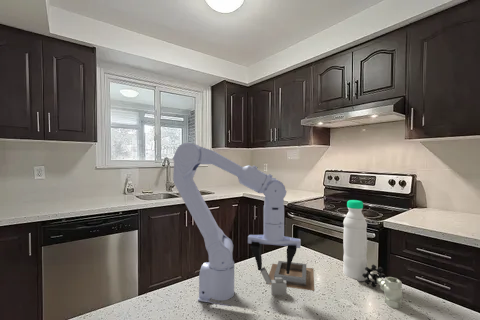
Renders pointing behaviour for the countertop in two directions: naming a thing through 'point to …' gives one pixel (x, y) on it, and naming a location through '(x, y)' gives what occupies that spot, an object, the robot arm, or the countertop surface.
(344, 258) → the water bottle
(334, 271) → the countertop surface
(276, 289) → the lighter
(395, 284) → the valve
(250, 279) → the countertop surface
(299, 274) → the walnut board
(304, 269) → the steel collar
